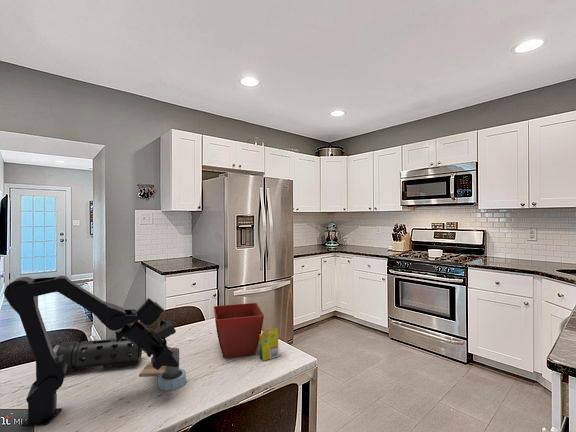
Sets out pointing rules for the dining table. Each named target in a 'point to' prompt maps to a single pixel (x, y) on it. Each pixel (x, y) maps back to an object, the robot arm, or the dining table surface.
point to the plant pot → (238, 328)
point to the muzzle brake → (98, 353)
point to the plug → (173, 371)
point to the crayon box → (268, 344)
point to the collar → (171, 381)
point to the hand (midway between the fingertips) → (176, 362)
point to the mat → (151, 370)
